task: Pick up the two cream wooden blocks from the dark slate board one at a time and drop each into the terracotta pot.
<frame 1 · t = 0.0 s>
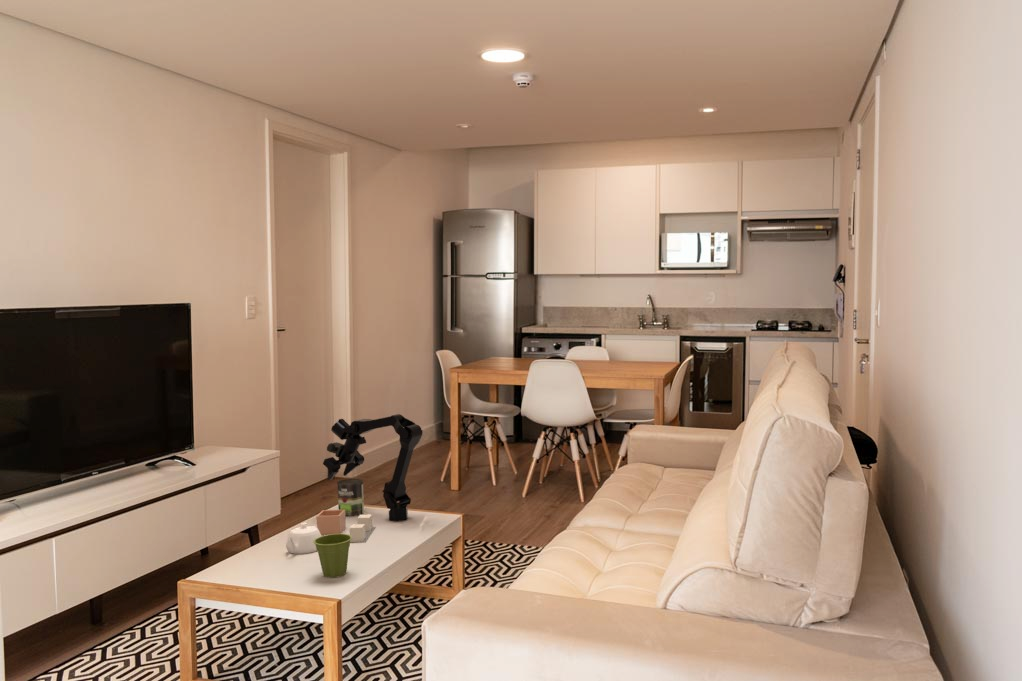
hand: (336, 477, 324), 15 cm above the table, tool tilted 35°, fingers open, 9 cm apart
teapot: (304, 553, 275), on the table
coffee can: (351, 516, 321), on the table
block 1: (357, 539, 283), point 1 cm above the table, touching slate board
slate board: (361, 537, 290), on the table
block 2: (365, 529, 296), point 1 cm above the table, touching slate board
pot: (331, 534, 296), on the table
plant pot: (334, 574, 251), on the table
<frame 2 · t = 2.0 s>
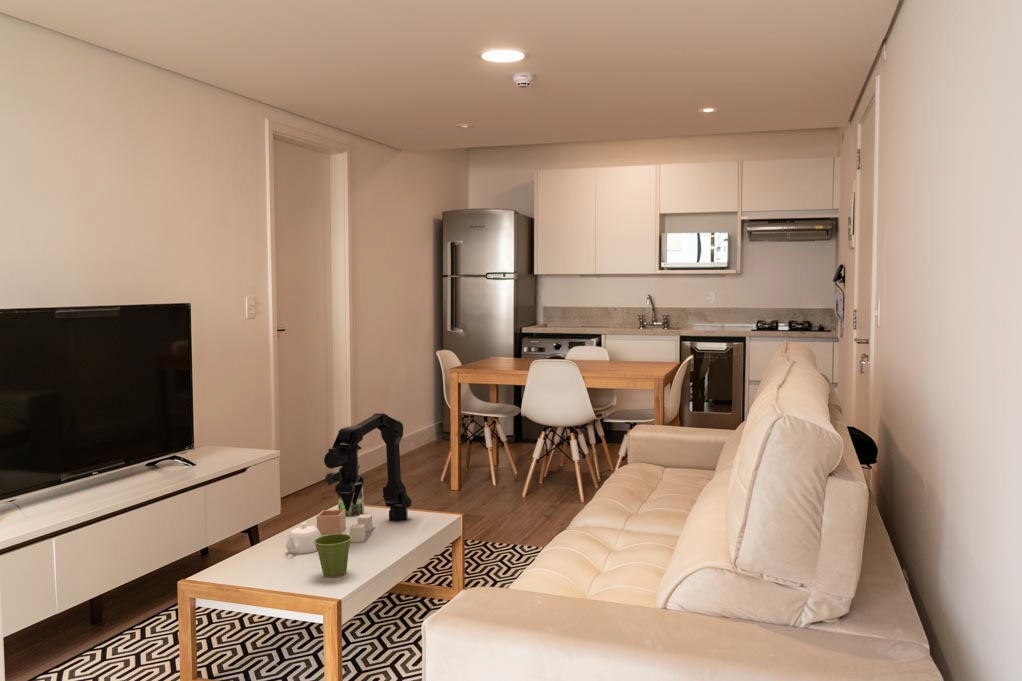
hand: (350, 507, 283), 13 cm above the table, tool pointing down, fingers open, 9 cm apart
nothing on the table moved.
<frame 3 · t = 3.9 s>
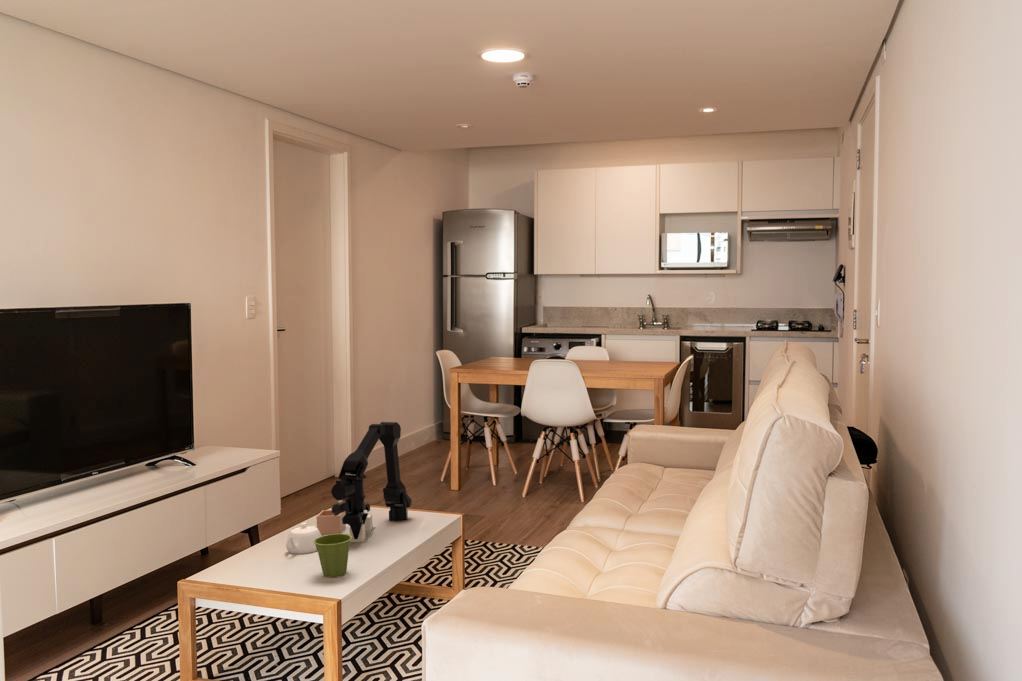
hand: (357, 537, 283), 2 cm above the table, tool pointing down, fingers closed on block 1, 4 cm apart
block 1: (357, 539, 283), point 1 cm above the table, touching gripper, slate board
everything else where it was.
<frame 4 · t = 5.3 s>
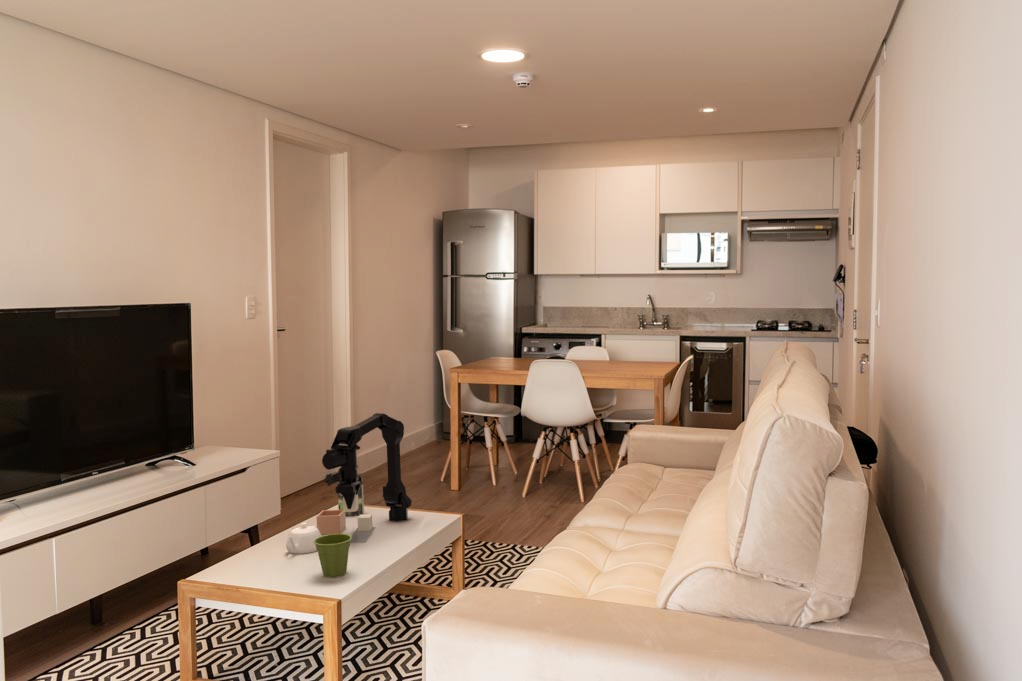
hand: (350, 507, 285), 12 cm above the table, tool pointing down, fingers closed on block 1, 4 cm apart
block 1: (351, 510, 285), point 11 cm above the table, touching gripper
everything else where it was.
when the fingers open (10 cm above the table, at t = 6.8 s): block 1 drops 8 cm, resting on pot.
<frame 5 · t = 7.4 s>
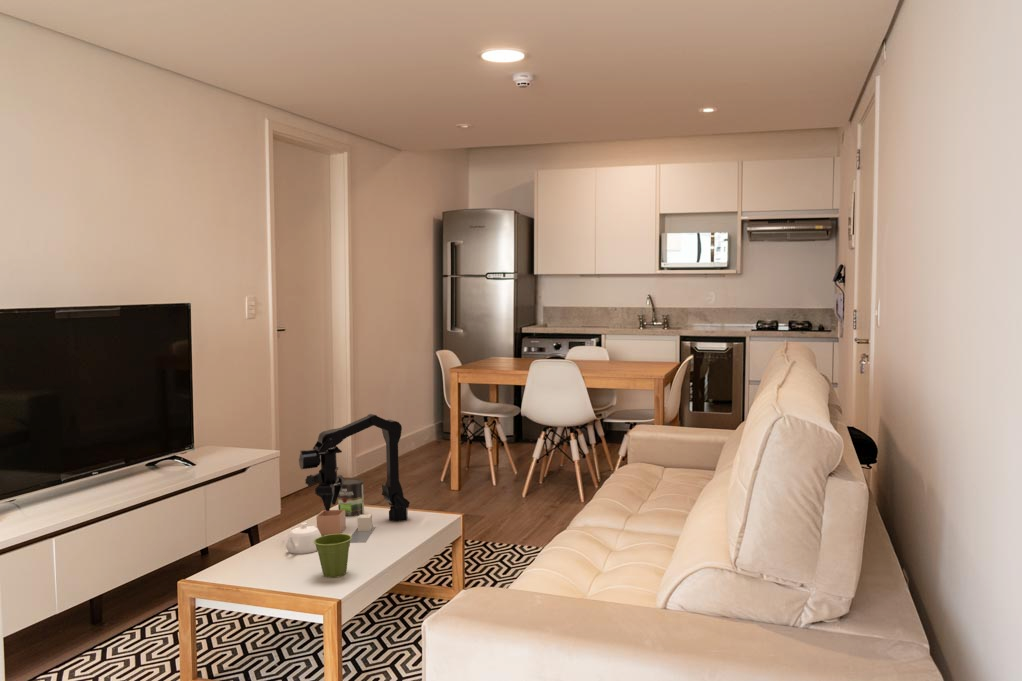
hand: (330, 507, 295), 10 cm above the table, tool pointing down, fingers open, 9 cm apart
block 1: (331, 532, 296), point 1 cm above the table, touching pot
everything else where it was.
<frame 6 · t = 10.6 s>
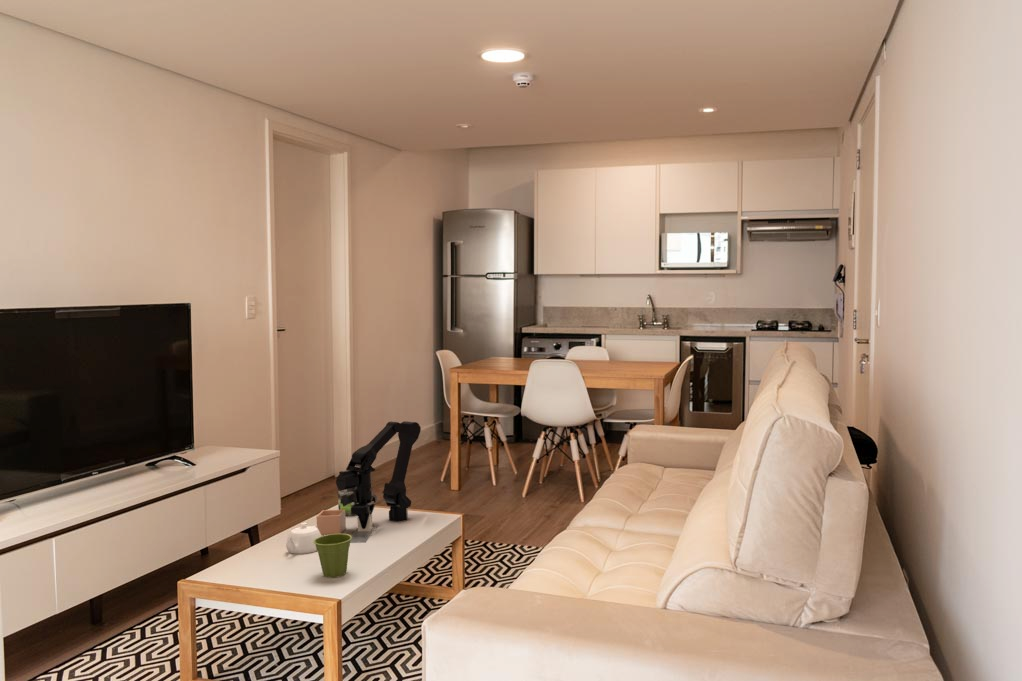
hand: (365, 526, 296), 2 cm above the table, tool pointing down, fingers closed on block 2, 4 cm apart
block 2: (365, 529, 296), point 1 cm above the table, touching gripper, slate board
everything else where it was.
when the fingers open (10 cm above the table, at t = 13.1 s): block 2 drops 3 cm, resting on block 1.
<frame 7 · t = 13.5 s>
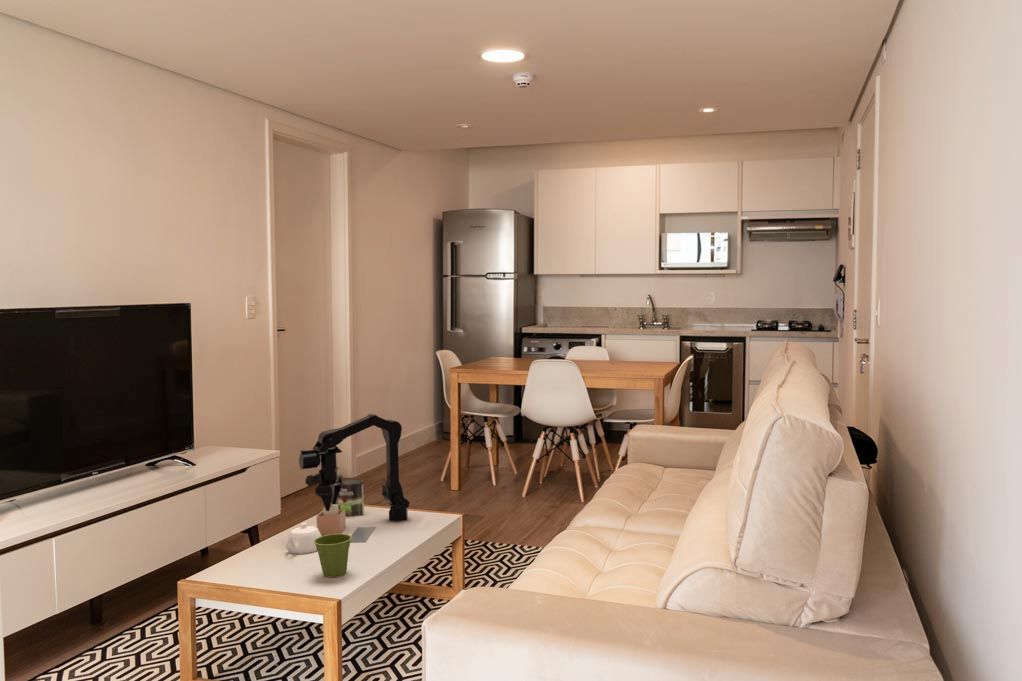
hand: (330, 507, 295), 10 cm above the table, tool pointing down, fingers open, 9 cm apart
block 1: (331, 532, 296), point 1 cm above the table, touching block 2, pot
block 2: (331, 519, 295), point 6 cm above the table, touching block 1
everything else where it was.
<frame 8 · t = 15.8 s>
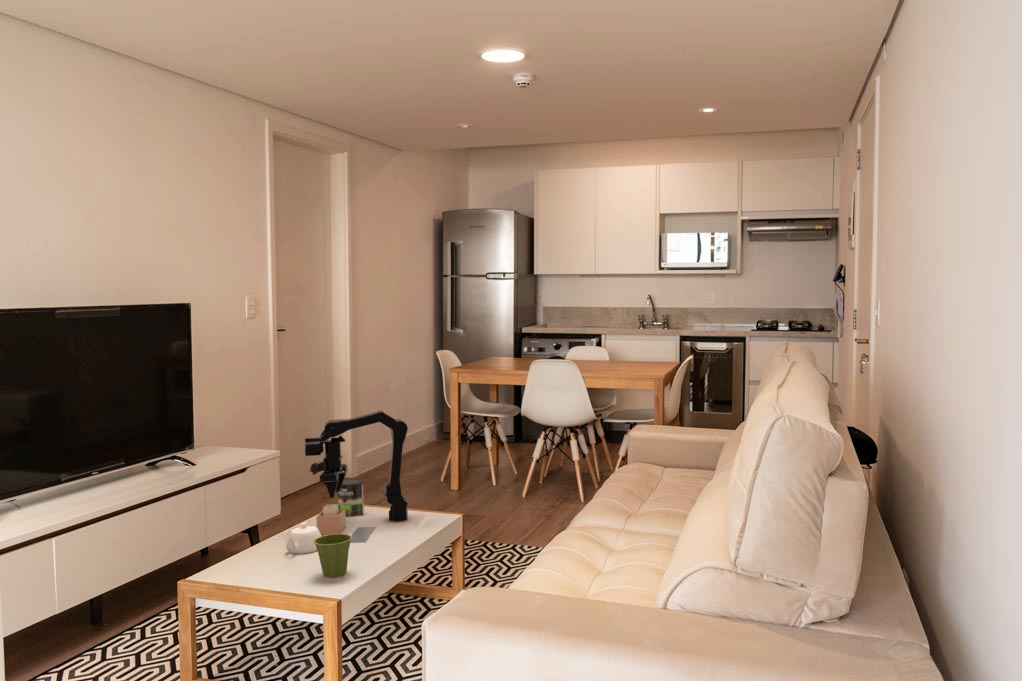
hand: (334, 495, 302), 13 cm above the table, tool pointing down, fingers open, 9 cm apart
nothing on the table moved.
at the end: block 1 inside the target area on the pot (0.0 cm from its centre), point 0.6 cm above the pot's base; block 2 inside the target area on the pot (0.0 cm from its centre), point 5.6 cm above the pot's base; the gripper is holding nothing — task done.
